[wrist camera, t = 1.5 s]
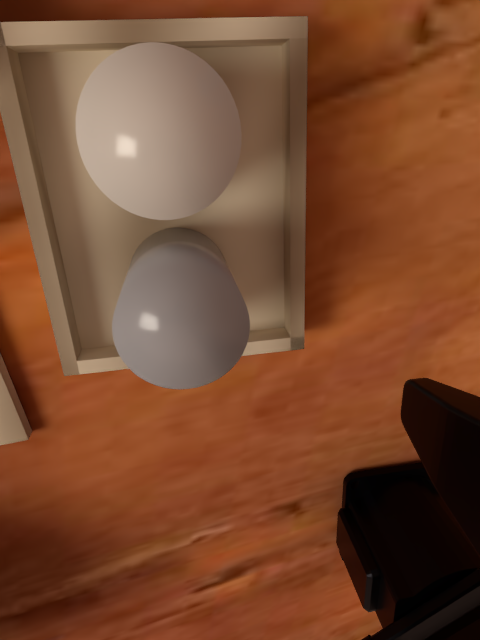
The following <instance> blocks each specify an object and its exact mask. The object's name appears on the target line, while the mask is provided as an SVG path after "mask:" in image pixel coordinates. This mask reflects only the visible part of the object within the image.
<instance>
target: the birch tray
mask: <svg viewBox="0 0 480 640" xmlns="http://www.w3.org/2000/svg"><path fill="white" fill-rule="evenodd" d="M147 42H158V43H166V44H171V45H175V46H178V47H181V48H184V49H186V50H188V51H190V52H192V53H194V54H196V55H197V56H198V57H200V58H201V59H203V60H204V61H205V62H207V63H208V64H209V65H210V66H211V67H212V68H213V69H214V70H215V71H216V72H217V73H218V75H219V76H220V77H221V78H222V80H223V81H224V83H225V84H226V86H227V87H228V89H229V91H230V93H231V95H232V97H233V99H234V101H235V104H236V107H237V110H238V114H239V118H240V123H241V133H242V136H241V151H240V157H239V161H238V165H237V168H236V170H235V173H234V175H233V177H232V179H231V181H230V183H229V184H228V186H227V187H226V189H225V190H224V191H223V193H222V194H221V195H220V196H219V197H218V198H217V199H216V200H215V201H214V202H213V203H211V204H210V205H209V206H208V207H206V208H205V209H203V210H201V211H200V212H198V213H195V214H193V215H191V216H188V217H184V218H180V219H174V220H156V219H149V218H145V217H141V216H138V215H136V214H133V213H130V212H129V211H127V210H125V209H123V208H121V207H120V206H118V205H117V204H115V203H114V202H113V201H111V200H110V199H109V198H108V197H107V196H106V195H105V194H104V193H103V192H102V191H101V190H100V189H99V188H98V186H97V185H96V184H95V183H94V181H93V180H92V178H91V177H90V175H89V173H88V171H87V169H86V167H85V166H84V163H83V161H82V158H81V155H80V152H79V148H78V144H77V138H76V112H77V105H78V102H79V98H80V95H81V92H82V90H83V88H84V85H85V83H86V82H87V80H88V78H89V77H90V75H91V73H92V72H93V71H94V70H95V69H96V67H97V66H98V65H99V64H100V63H101V62H102V61H104V60H105V59H106V58H107V57H108V56H110V55H111V54H113V53H115V52H116V51H118V50H120V49H123V48H125V47H127V46H130V45H134V44H138V43H147ZM307 54H308V16H293V17H241V18H189V19H137V20H85V21H33V22H0V111H1V116H2V120H3V124H4V128H5V132H6V136H7V141H8V145H9V149H10V153H11V157H12V161H13V165H14V170H15V174H16V178H17V182H18V186H19V190H20V194H21V199H22V203H23V207H24V211H25V215H26V219H27V223H28V228H29V232H30V236H31V240H32V244H33V248H34V253H35V257H36V261H37V265H38V269H39V273H40V277H41V282H42V286H43V290H44V294H45V298H46V302H47V306H48V311H49V315H50V319H51V323H52V327H53V331H54V335H55V340H56V344H57V348H58V352H59V356H60V360H61V365H62V369H63V373H64V376H69V375H78V374H86V373H95V372H104V371H113V370H122V369H129V368H128V367H127V365H126V364H125V363H124V362H123V360H122V359H121V357H120V355H119V354H118V352H117V349H116V347H115V344H114V340H113V334H112V320H113V315H114V311H115V308H116V305H117V302H118V299H119V296H120V293H121V290H122V287H123V284H124V281H125V278H126V275H127V272H128V269H129V266H130V263H131V260H132V257H133V255H134V253H135V251H136V249H137V248H138V246H139V245H140V244H141V243H142V242H143V241H144V240H145V239H146V238H148V237H149V236H150V235H152V234H154V233H156V232H158V231H160V230H164V229H167V228H175V227H181V228H188V229H192V230H195V231H198V232H200V233H202V234H204V235H206V236H207V237H208V238H210V239H211V240H212V241H213V242H214V243H215V244H216V245H217V246H218V248H219V249H220V251H221V252H222V254H223V256H224V258H225V260H226V263H227V265H228V267H229V269H230V271H231V273H232V275H233V278H234V280H235V282H236V284H237V286H238V288H239V291H240V293H241V295H242V297H243V299H244V301H245V304H246V306H247V309H248V313H249V319H250V332H249V338H248V342H247V345H246V348H245V350H244V352H243V354H242V356H245V355H254V354H263V353H271V352H280V351H289V350H298V349H304V320H305V231H306V143H307Z"/></svg>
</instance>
